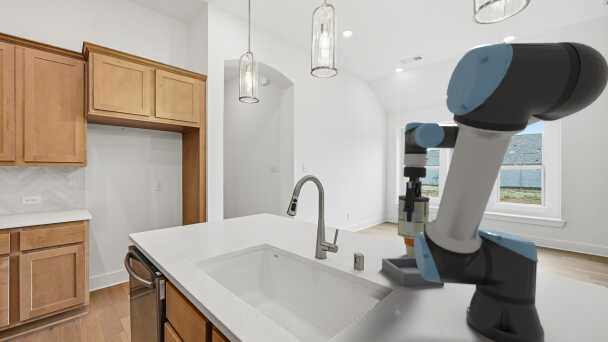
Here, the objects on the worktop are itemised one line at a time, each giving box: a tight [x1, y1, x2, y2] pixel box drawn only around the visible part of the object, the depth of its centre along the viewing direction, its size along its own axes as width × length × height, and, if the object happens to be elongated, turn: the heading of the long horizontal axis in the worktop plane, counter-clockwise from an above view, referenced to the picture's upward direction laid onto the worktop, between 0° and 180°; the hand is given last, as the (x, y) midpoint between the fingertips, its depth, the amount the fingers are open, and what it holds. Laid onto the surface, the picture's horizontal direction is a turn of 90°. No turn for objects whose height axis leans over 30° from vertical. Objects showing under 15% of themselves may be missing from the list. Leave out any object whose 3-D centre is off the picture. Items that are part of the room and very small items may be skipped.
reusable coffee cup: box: [403, 221, 430, 258], centre depth 118 cm, size 13×13×15 cm
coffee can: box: [397, 194, 431, 239], centre depth 95 cm, size 10×10×14 cm
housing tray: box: [381, 257, 445, 287], centre depth 96 cm, size 15×15×4 cm
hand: (412, 228), depth 96 cm, fingers closed on coffee can, 10 cm apart
